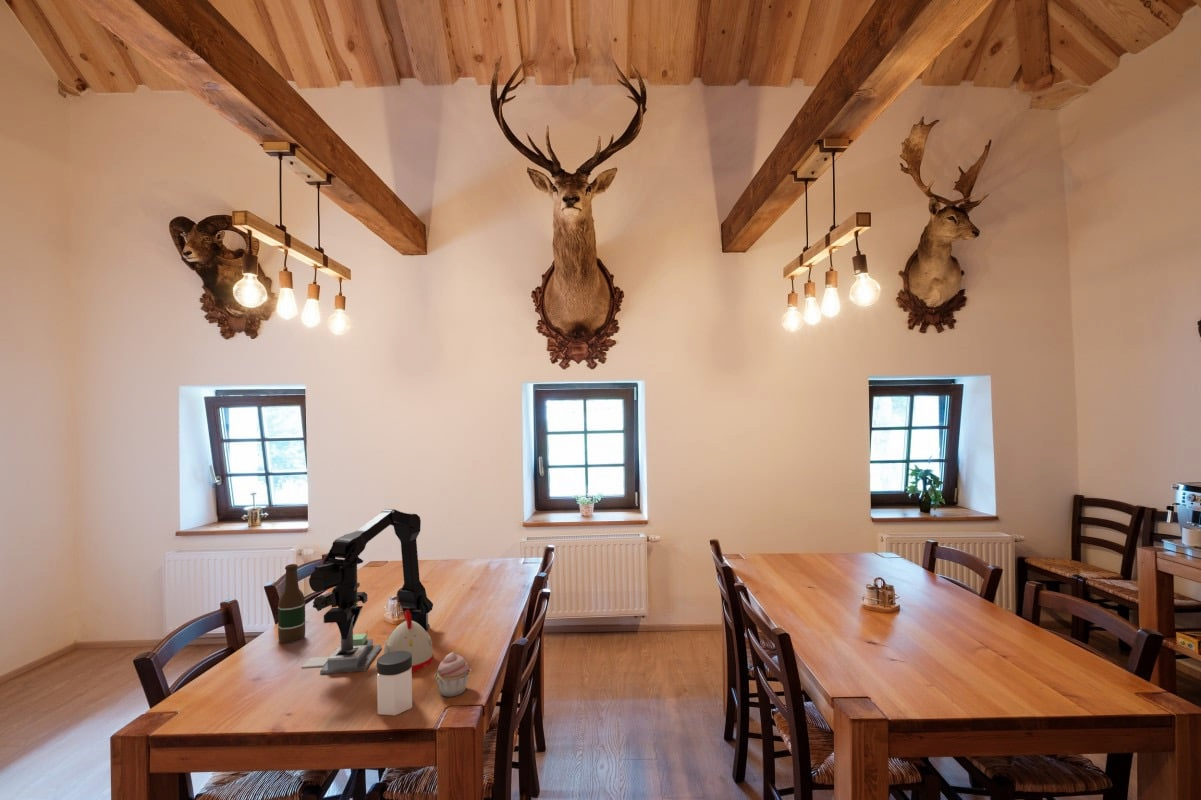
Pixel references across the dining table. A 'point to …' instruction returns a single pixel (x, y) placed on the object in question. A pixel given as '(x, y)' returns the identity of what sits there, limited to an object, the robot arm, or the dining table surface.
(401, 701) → the jar
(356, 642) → the on button
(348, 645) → the gray capped cylinder
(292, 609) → the beer bottle
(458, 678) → the cupcake
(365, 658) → the grey flat framed piece
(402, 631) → the kitchen timer
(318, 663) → the pad
